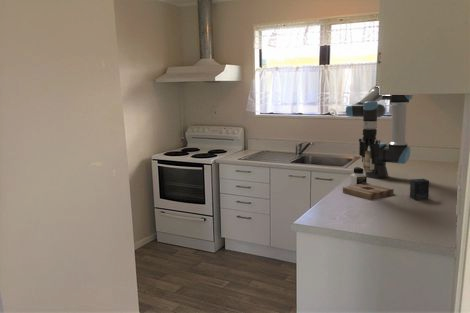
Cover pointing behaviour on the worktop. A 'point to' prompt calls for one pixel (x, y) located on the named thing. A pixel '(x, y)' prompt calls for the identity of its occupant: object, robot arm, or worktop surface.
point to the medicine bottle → (358, 176)
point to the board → (368, 190)
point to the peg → (367, 161)
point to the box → (419, 189)
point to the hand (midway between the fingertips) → (368, 168)
